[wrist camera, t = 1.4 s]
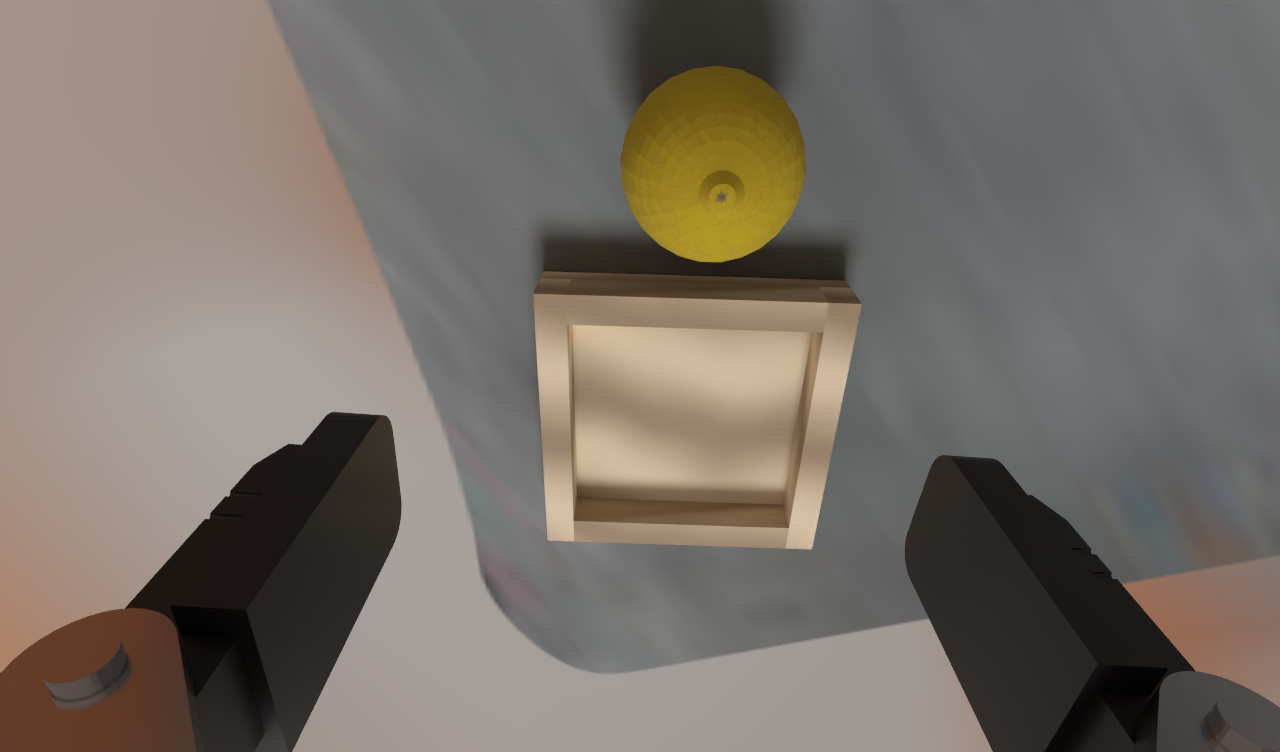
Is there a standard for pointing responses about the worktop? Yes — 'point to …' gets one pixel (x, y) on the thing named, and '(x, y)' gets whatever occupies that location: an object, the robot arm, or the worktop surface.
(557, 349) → the tray
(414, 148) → the worktop surface
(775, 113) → the lemon
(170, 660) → the robot arm
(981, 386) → the worktop surface
